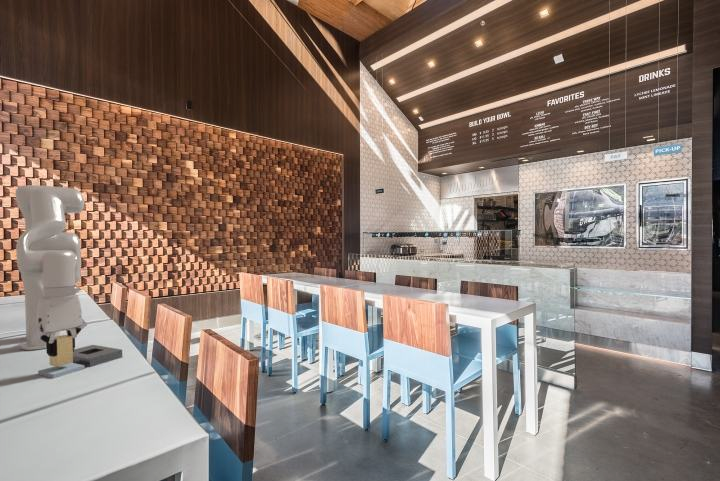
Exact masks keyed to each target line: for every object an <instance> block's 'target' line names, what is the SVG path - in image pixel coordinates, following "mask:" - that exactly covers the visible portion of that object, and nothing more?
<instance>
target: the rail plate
mask: <svg viewBox="0 0 720 481" xmlns="http://www.w3.org/2000/svg"><path fill="white" fill-rule="evenodd" d="M120 358H121V359H122V358H123V349H120V348H115V347H108V346H103V345H96V344H90V345H86V346H83V347H77V348H74V352H73V363H76V364H80V365H84V367H87V368H91V367H95V366H97V365H100V364H104V363H108V362H110V361H114V360H117V359H120Z"/></svg>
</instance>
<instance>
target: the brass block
mask: <svg viewBox="0 0 720 481" xmlns="http://www.w3.org/2000/svg"><path fill="white" fill-rule="evenodd" d="M54 342H55V343H56V356H54V357H52V356H49V366H50V367H54V366H56V367H59V366H63V365H66V364H70V363H73V341H72V336H69V335H67V334H61V335H60V336H57V337H55V339H54Z"/></svg>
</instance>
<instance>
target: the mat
mask: <svg viewBox="0 0 720 481" xmlns="http://www.w3.org/2000/svg"><path fill="white" fill-rule="evenodd" d="M84 369H85V366H84V365H80V364H76V363H70V364H66V365H63V366H59V367H56V366H50V367H48V368H43V369H40V370H37V372H38V375H41V376H45V377H48V378H52V379H55V378H58V377H61V376H64V375H68V374H72V373H74V372H77V371H81V370H84Z"/></svg>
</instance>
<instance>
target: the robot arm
mask: <svg viewBox="0 0 720 481" xmlns="http://www.w3.org/2000/svg"><path fill="white" fill-rule="evenodd" d="M14 196H15V201H16V204H17V207H18V209H19V210H20V212H21V214H22V217H23V219H24V224H25V225H24V227H25V229H24V230H25V231H23V233H22V234H21V235H20V237H19V238H18V239H17V242H16V246H15V251H16V264H17V269H18V271H19V273H20V274H21V275H20V277H21V280H22V285H23V290H24V291H23V292H24V306H25V307H24V309H25V339H26V340H25V343H23V344H21V345H20V349H21V350H23V351H34V350H35V351H36V350H43V349H46V350H45V351H46V354H47V355H48V356H49V357H50V356H52V357H54V356H56V343H55V342H54V339H55V337H57V336H61V334H60V332H61V331H66V335H69V336H72V341H73V352H74V349H76V339H77V337H78V334H79V333H80V332H81V331H82V330H83V329H85V328H86V327H87V326H88V324H87V322H86V321H85V320H84V319H83V314H82V306H81V305H82V304H81V301H80V298H79V295H78V294H77V292H78V291H80V290H81V287H80V286H77V283H79V282H80V280H81V278H82V256H81V255H82V253H81V252H82V250H81V240H80V238H79V236H78V234H76V233H75V232H65V230H66V229H67V221H66V215H65V214H80V213H82V212H83V210H84V208H85V199H84V196H83V194H82V193H81V191H80V190H78V189H76V188H74V187H66V186H65V187H64V186H51V185H50V186H49V185H37V184H34V185H33V184H31V185H29V184H28V185H27V184H26V185H25V184H24V185H21V186H18V187H16V189H15V194H14Z"/></svg>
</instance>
